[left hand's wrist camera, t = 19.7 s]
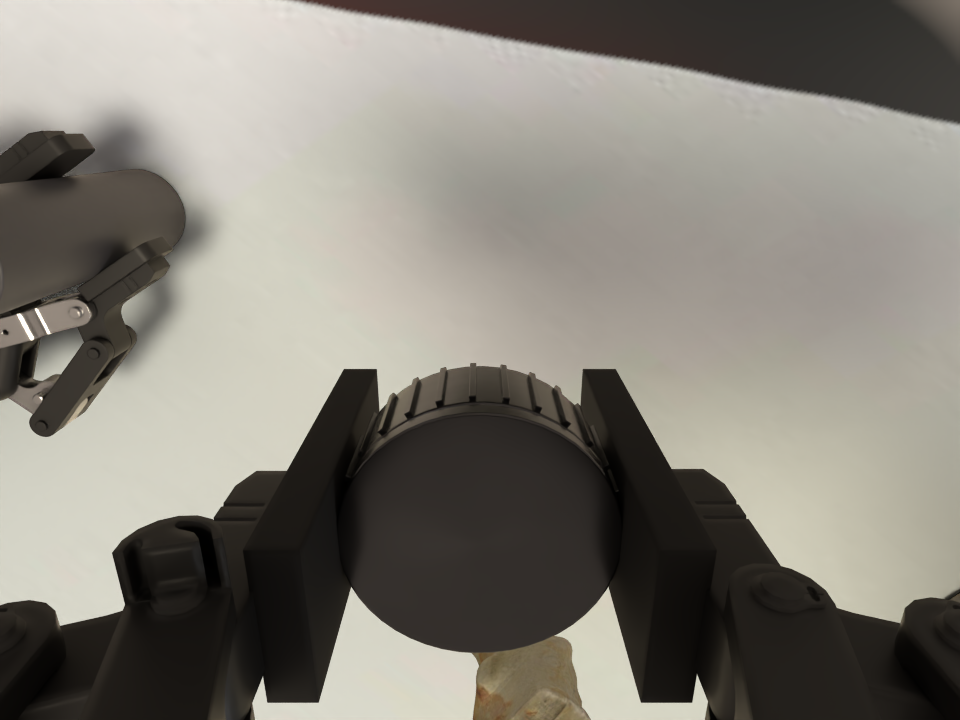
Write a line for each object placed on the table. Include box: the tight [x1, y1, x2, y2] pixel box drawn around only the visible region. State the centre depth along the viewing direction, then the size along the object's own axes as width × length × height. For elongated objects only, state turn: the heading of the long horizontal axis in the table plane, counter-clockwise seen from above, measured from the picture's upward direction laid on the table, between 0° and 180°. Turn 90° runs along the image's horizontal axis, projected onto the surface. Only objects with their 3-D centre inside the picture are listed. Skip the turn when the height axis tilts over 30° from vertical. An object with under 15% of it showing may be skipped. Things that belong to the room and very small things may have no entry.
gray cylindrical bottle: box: [0, 169, 185, 314], centre depth 25 cm, size 4×4×15 cm
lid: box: [337, 363, 623, 653], centre depth 11 cm, size 5×5×2 cm
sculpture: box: [472, 636, 591, 720], centre depth 32 cm, size 6×7×15 cm
